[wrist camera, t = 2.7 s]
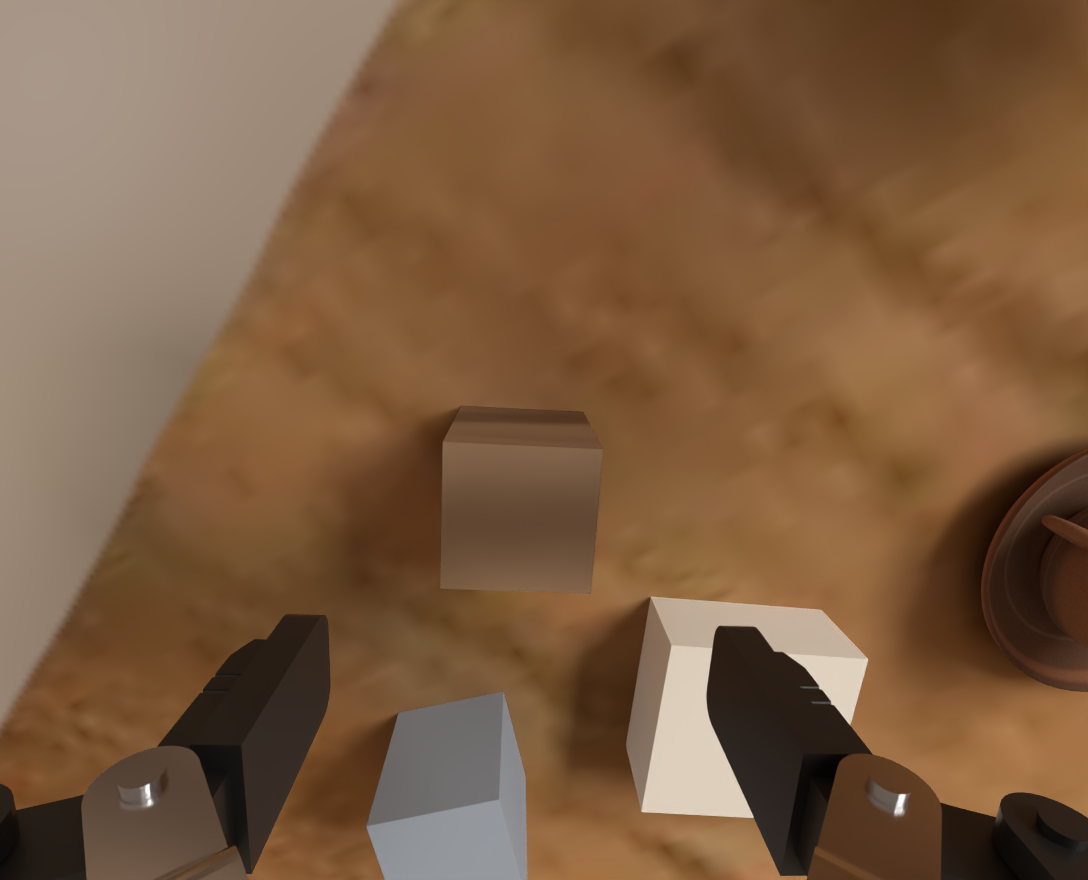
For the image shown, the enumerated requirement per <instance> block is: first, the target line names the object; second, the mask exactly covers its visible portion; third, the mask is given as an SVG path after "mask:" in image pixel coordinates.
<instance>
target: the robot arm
mask: <svg viewBox="0 0 1088 880" xmlns="http://www.w3.org/2000/svg"><path fill="white" fill-rule="evenodd" d="M329 694H330V660H329V633H328V621H327V618H326V616H325V615H297V614H287V615H285V616H284V617H283V618H282V619H281V621H280V622H279V623H278V625H277V626H276V628H275V629H274V630H273V632H272V633H271V634H270V636H269V637H268V638H267V640H261V639H254V640H253V641H251V642H250V643H248V644H246V645H245V646H243V647H242V648H240V649H239V650H237V651H236V652H234V653H233V654H231V655H230V656H229V658H228V659H227V660H226V661H225V663H224V664H223V665H222V666H221V668H220V669H219V670H218V671H217V673H216V676H215V677H213V678H212V679H211V680H210V681H209V683H208V684H207V685H206V686H205V688H204V689H203V693H200V694H199V695H198V696H197V698H196V699H195V700H194V701H193V702H192V704H191V705H190V706H189V707H188V709H187V710H186V711H185V712H184V714H183V715H182V716H181V717H180V719H179V720H178V721H177V722H176V724H175V725H174V726H173V727H172V729H171V730H170V731H169V732H168V734H167V735H166V736H165V737H164V739H163V740H162V741H161V742H160V744H159V745H158V746H157V747H155V748H151V749H147V750H144V751H140V752H137V753H135V754H133V755H130V756H128V757H126V758H124V759H122V760H120V761H118V762H117V763H115V764H114V765H112V766H110V767H109V768H108V769H106V770H105V771H104V772H102V773H101V774H100V775H99V776H98V777H97V778H96V779H95V780H94V781H93V782H92V783H91V785H90V786H89V787H88V789H87V790H86V792H85V794H84V795H81V796H77V797H73V798H69V799H64V800H60V801H56V802H51V803H47V804H42V805H38V806H33V807H29V808H25V809H20V810H16V808H15V803H14V797H13V794H12V792H11V790H10V789H9V788H8V787H6V786H4V785H2V784H0V880H248V877H247V874H252V872H253V870H254V868H255V865H256V863H257V861H258V859H259V857H260V855H261V852H262V850H263V848H264V846H265V844H266V842H267V839H268V837H269V835H270V833H271V831H272V829H273V826H274V824H275V822H276V820H277V818H278V816H279V813H280V811H281V809H282V807H283V805H284V803H285V800H286V798H287V796H288V794H289V792H290V789H291V787H292V785H293V783H294V781H295V779H296V776H297V774H298V772H299V770H300V768H301V766H302V763H303V761H304V759H305V757H306V755H307V753H308V750H309V748H310V746H311V744H312V742H313V740H314V737H315V735H316V733H317V731H318V729H319V727H320V724H321V722H322V720H323V718H324V715H325V712H326V709H327V705H328V700H329ZM706 701H707V710H708V715H709V719H710V722H711V725H712V727H713V729H714V731H715V734H716V736H717V738H718V740H719V742H720V745H721V747H722V749H723V751H724V753H725V755H726V758H727V760H728V762H729V764H730V766H731V769H732V771H733V773H734V775H735V777H736V780H737V782H738V784H739V786H740V788H741V790H742V793H743V795H744V797H745V799H746V801H747V804H748V806H749V808H750V810H751V812H752V815H753V817H754V819H755V821H756V823H757V825H758V828H759V830H760V832H761V834H762V836H763V839H764V841H765V843H766V845H767V847H768V850H769V852H770V854H771V856H772V858H773V860H774V863H775V865H776V867H777V869H778V871H779V874H780V876H807V880H1088V818H1087V817H1085V816H1084V815H1082V814H1081V813H1079V812H1077V811H1075V810H1074V809H1072V808H1070V807H1068V806H1066V805H1064V804H1062V803H1059V802H1057V801H1054V800H1052V799H1049V798H1046V797H1043V796H1040V795H1035V794H1031V793H1023V792H1022V793H1011V794H1008V795H1006V796H1004V798H1003V799H1002V800H1001V803H1000V807H999V810H998V813H997V817H992V816H989V815H985V814H981V813H977V812H973V811H969V810H965V809H961V808H958V807H954V806H950V805H946V804H943V803H940V801H939V799H938V798H937V796H936V794H935V793H934V791H933V790H932V789H931V788H930V787H929V786H928V785H927V784H926V783H925V782H924V781H923V780H922V779H921V778H920V777H919V776H917V775H916V774H915V773H913V772H912V771H910V770H909V769H907V768H905V767H904V766H902V765H900V764H898V763H896V762H894V761H892V760H889V759H886V758H883V757H880V756H876V755H873V754H872V753H871V752H870V750H869V749H868V748H867V746H866V745H865V744H864V743H863V741H862V740H861V739H860V737H859V736H858V735H857V734H856V732H855V731H854V730H853V729H852V727H851V726H850V725H849V723H848V722H847V721H846V720H845V718H844V717H843V716H842V714H841V713H840V712H839V711H838V709H837V708H836V707H835V705H831V700H830V699H829V698H828V697H827V695H826V694H825V693H824V691H823V690H822V689H819V685H818V684H817V682H816V681H815V680H814V679H813V677H812V676H811V675H810V673H809V672H808V671H807V670H806V668H805V667H803V666H802V665H801V664H799V663H798V662H796V661H795V660H794V659H792V658H791V657H789V656H788V655H787V654H785V653H784V652H774V650H773V649H772V647H771V646H770V645H769V643H768V642H767V641H766V639H765V638H764V636H763V635H762V634H761V632H760V631H759V630H758V629H757V628H756V627H754V626H718V627H717V629H716V631H715V634H714V640H713V647H712V655H711V662H710V669H709V676H708V684H707V692H706Z"/></svg>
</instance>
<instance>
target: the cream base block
mask: <svg viewBox="0 0 1088 880" xmlns="http://www.w3.org/2000/svg"><path fill="white" fill-rule="evenodd" d="M718 626H754V627H756V628H757V629H758V630H759V631H760V632H761V634H762V635H763V636H764V638H765V639H766V641H767V642H768V643H769V645H770V646H771V647H772V649H773V650H774V652H784V653H785V654H787V655H788V656H789V657H791V658H792V659H794V660H795V661H796V662H798V663H799V664H801V665H802V666H803V667H805V668H806V670H807V671H808V672H809V673H810V675H811V676H812V677H813V679H814V680H815V681H816V682H817V684H818V685H819V689H822V690H823V691H824V693H825V694H826V695H827V697H828V698H829V699H830V700H831V705H835V707H836V708H837V709H838V711H839V712H840V713H841V714H842V716H843V717H844V718H845V720H846V721H847V722H848V723H849V725H850V724H851V721H852V717H853V713H854V710H855V706H856V703H857V699H858V695H859V692H860V688H861V684H862V681H863V677H864V674H865V670H866V666H867V663H868V658H867V657H866V656H865V655H864V654H863V653H862V652H861V651H860V650H859V649H858V648H857V647H856V646H855V645H854V644H853V643H852V642H851V641H850V640H849V638H848V637H847V636H846V635H845V634H844V633H843V632H842V631H841V630H840V629H839V628H838V627H837V626H836V625H835V624H834V623H833V622H832V621H831V620H830V618H829V617H828V616H827V615H826V614H825V613H824V612H823V611H822V610H817V609H804V608H791V607H778V606H765V605H752V604H739V603H726V602H713V601H700V600H687V599H674V598H661V597H651V598H650V604H649V610H648V616H647V622H646V628H645V634H644V640H643V645H642V651H641V657H640V663H639V669H638V675H637V681H636V687H635V693H634V699H633V705H632V711H631V717H630V723H629V729H628V735H627V741H626V748H627V753H628V757H629V761H630V766H631V770H632V774H633V778H634V783H635V787H636V791H637V796H638V800H639V804H640V808H641V812H652V813H671V814H690V815H709V816H728V817H747V818H754V817H753V815H752V812H751V810H750V808H749V806H748V804H747V801H746V799H745V797H744V795H743V793H742V790H741V788H740V786H739V784H738V782H737V780H736V777H735V775H734V773H733V771H732V769H731V766H730V764H729V762H728V760H727V758H726V755H725V753H724V751H723V749H722V747H721V745H720V742H719V740H718V738H717V736H716V734H715V731H714V729H713V727H712V725H711V722H710V719H709V715H708V710H707V701H706V692H707V684H708V676H709V669H710V662H711V655H712V647H713V640H714V634H715V631H716V629H717V627H718Z"/></svg>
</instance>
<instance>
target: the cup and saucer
mask: <svg viewBox="0 0 1088 880" xmlns="http://www.w3.org/2000/svg"><path fill="white" fill-rule="evenodd" d="M981 601H982V609H983V614H984V618H985V621H986V624H987V627H988V629H989V631H990V633H991V635H992V637H993V639H994V641H995V642H996V644H997V645H998V647H999V648H1000V649H1001V651H1002V652H1003V653H1004V654H1005V655H1006V656H1007V658H1008V659H1009V660H1010V661H1011V662H1012V663H1013V664H1014V665H1015V666H1016V667H1018V668H1019V669H1020V670H1021V671H1023V672H1024V673H1025V674H1027V675H1028V676H1030V677H1032V678H1034V679H1035V680H1037V681H1039V682H1042V683H1044V684H1046V685H1049V686H1052V687H1056V688H1059V689H1064V690H1070V691H1080V692H1088V448H1087V449H1085V450H1082V451H1080V452H1078V453H1076V454H1074V455H1072V456H1071V457H1069V458H1067V459H1065V460H1064V461H1062V462H1061V463H1059V464H1058V465H1056V466H1055V467H1053V468H1052V469H1050V470H1049V471H1048V472H1046V473H1045V474H1044V475H1043V476H1041V477H1040V478H1039V479H1038V480H1037V481H1035V482H1034V483H1033V484H1032V485H1031V486H1030V487H1029V488H1028V489H1027V490H1026V491H1025V492H1024V493H1023V494H1022V495H1021V496H1020V497H1019V498H1018V499H1017V501H1016V502H1015V503H1014V504H1013V506H1012V507H1011V508H1010V510H1009V511H1008V512H1007V514H1006V515H1005V517H1004V518H1003V520H1002V521H1001V523H1000V525H999V527H998V529H997V531H996V532H995V535H994V537H993V539H992V541H991V544H990V546H989V549H988V552H987V555H986V559H985V563H984V568H983V573H982V580H981Z"/></svg>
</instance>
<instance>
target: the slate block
mask: <svg viewBox="0 0 1088 880" xmlns="http://www.w3.org/2000/svg"><path fill="white" fill-rule="evenodd" d="M366 827H367V830H368V833H369V836H370V839H371V841H372V844H373V847H374V850H375V853H376V856H377V858H378V861H379V864H380V867H381V870H382V873H383V875H384V878H385V880H527V839H526V777H525V773H524V769H523V765H522V762H521V758H520V754H519V750H518V746H517V742H516V738H515V735H514V731H513V727H512V723H511V719H510V715H509V711H508V708H507V704H506V700H505V696H504V692H498V693H493V694H488V695H483V696H478V697H473V698H469V699H464V700H459V701H454V702H449V703H444V704H439V705H434V706H429V707H425V708H420V709H415V710H410V711H405V712H400V713H398V717H397V720H396V724H395V727H394V731H393V734H392V738H391V741H390V745H389V748H388V752H387V755H386V759H385V762H384V766H383V769H382V773H381V776H380V780H379V783H378V787H377V790H376V794H375V797H374V801H373V804H372V808H371V811H370V815H369V818H368V822H367V825H366Z"/></svg>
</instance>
